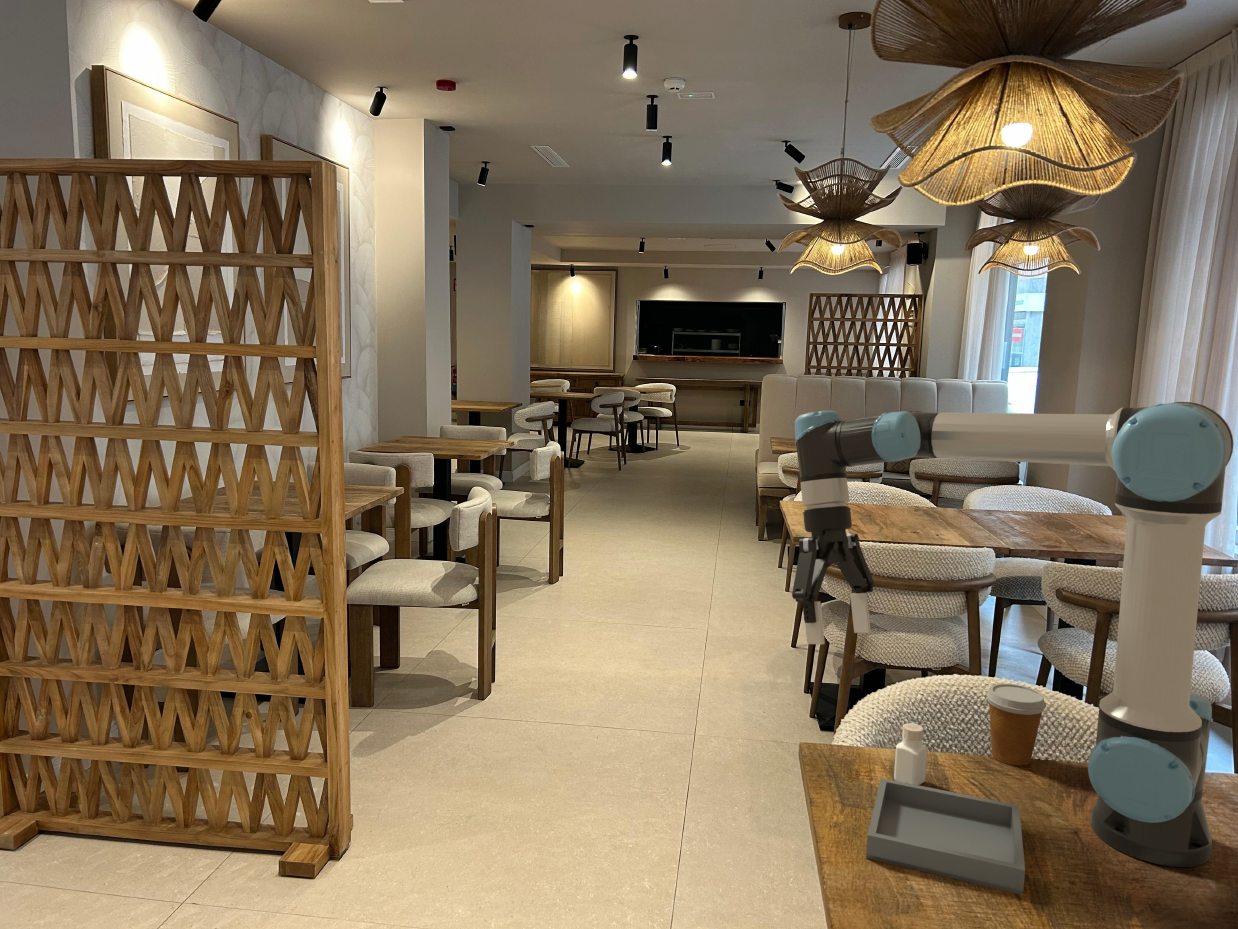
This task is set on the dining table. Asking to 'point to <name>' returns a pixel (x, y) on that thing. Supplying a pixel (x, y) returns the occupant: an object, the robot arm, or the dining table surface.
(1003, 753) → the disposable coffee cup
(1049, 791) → the dining table surface
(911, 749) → the pepper shaker
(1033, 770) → the dining table surface
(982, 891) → the dining table surface
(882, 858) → the box
